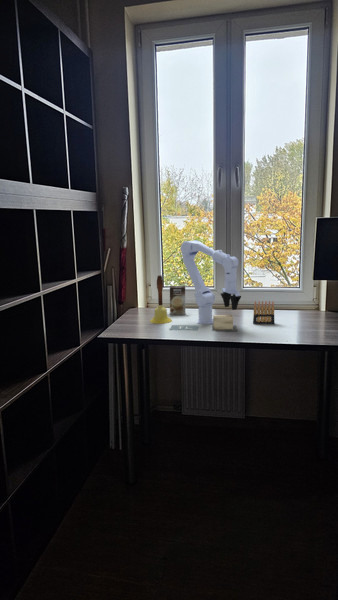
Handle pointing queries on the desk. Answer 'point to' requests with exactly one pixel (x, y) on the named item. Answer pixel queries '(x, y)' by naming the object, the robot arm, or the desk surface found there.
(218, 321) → the maple block
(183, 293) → the coffee box
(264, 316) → the ammunition clip
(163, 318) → the handbell
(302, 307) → the desk surface
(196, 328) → the blue-grey flat slab
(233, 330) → the rubber mat
